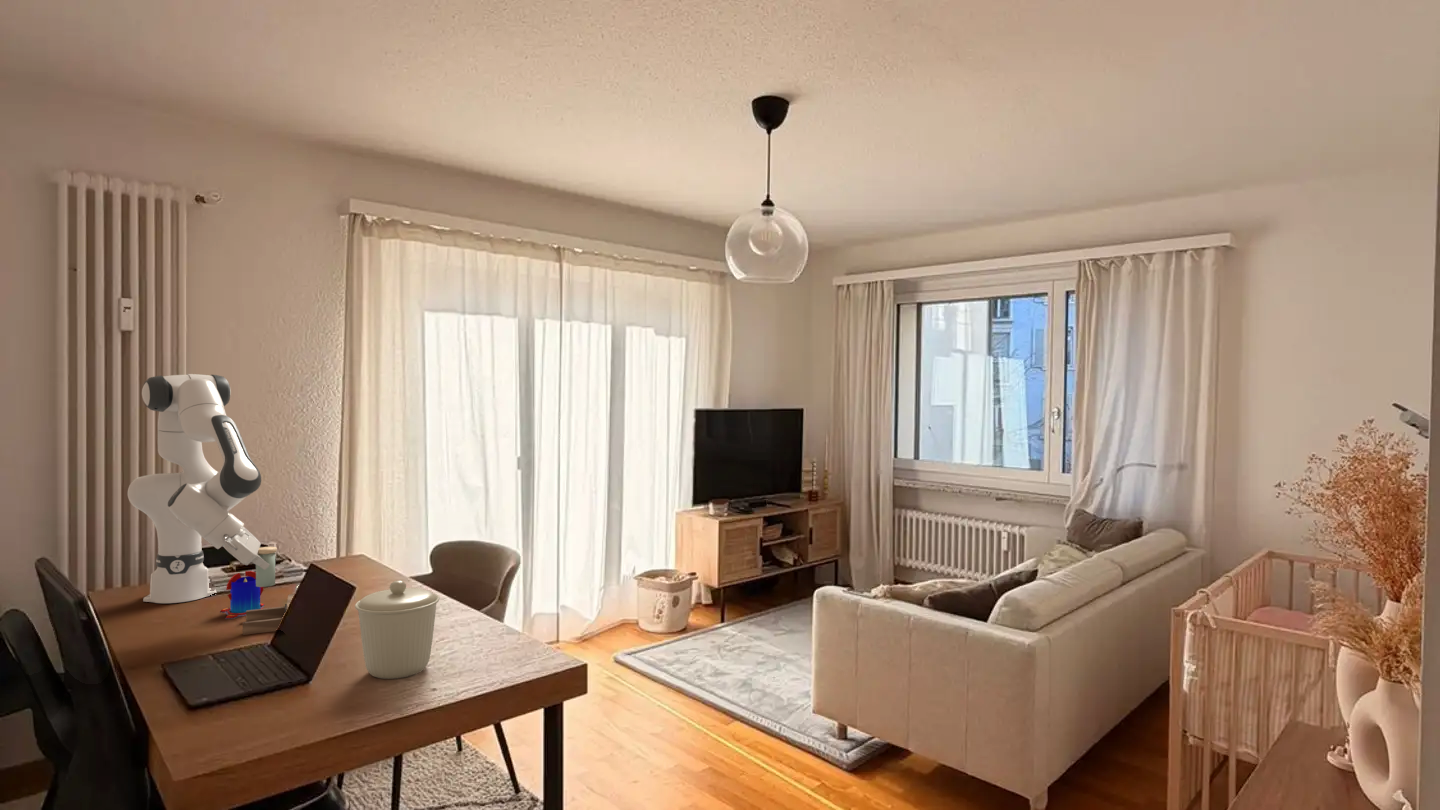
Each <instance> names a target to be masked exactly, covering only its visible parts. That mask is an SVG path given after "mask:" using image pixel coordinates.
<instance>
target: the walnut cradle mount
mask: <svg viewBox="0 0 1440 810" xmlns="http://www.w3.org/2000/svg"><path fill="white" fill-rule="evenodd" d="M293 596H294V593H293V594H292V593H291V594H288V595H287V599H286V600H287V602H286V604H284V606H276V607H266V608H263V609H256V610H247V611H246V616H245V621H243V622H242V636H244V635H252V634H253V635H254V634H260V633H269V632H277V631H276V629H277V628H278V626H279V624H280V622H281V620H282V619H283V618H282V617H283V615H284V613H285V612H286V610H287V609H288V607H289V604H290V602H291V600H292V598H293Z"/></svg>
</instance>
